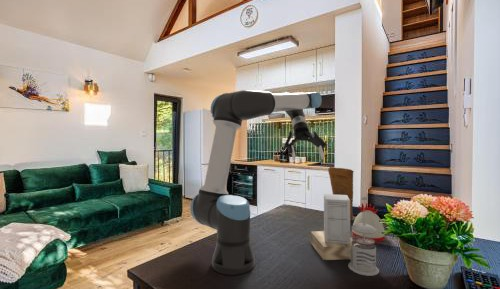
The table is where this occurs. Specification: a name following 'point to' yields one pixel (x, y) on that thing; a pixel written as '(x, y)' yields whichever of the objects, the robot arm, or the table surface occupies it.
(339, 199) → the supplement box
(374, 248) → the french press
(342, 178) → the pancake mix bag
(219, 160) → the robot arm
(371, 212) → the crested helmet
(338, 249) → the oak riser
